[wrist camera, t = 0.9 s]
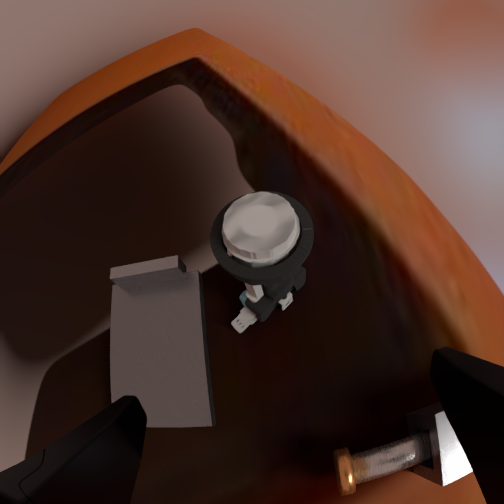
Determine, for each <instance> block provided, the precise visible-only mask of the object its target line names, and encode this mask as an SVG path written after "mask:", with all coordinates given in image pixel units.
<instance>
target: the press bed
mask: <svg viewBox="0 0 504 504" xmlns="http://www.w3.org/2000/svg"><path fill="white" fill-rule="evenodd" d="M110 280H112V281H113V282H114V283H115V284H116V285H113V288H112V303H111V327H110V378H111V401H112V403H113V402H115V401H116V400H118V399H119V398H121V397H122V396H124V395H134V396H136V397H137V398H138V399H139V401H140V403H141V405H142V407H143V409H144V411H145V412H146V415H147V425H146V427H201V426H214V425H216V417H215V409H214V401H213V392H212V383H211V374H210V364H209V354H208V343H207V331H206V319H205V306H204V292H203V277H202V275H201V274H200V272H199V271H198V270H197V271H191V272H186V266H185V264H184V263H183V262H182V260H181V259H180V257H179V256H178V255H176V256H171V257H165V258H161V259H155V260H150V261H145V262H140V263H134V264H130V265H124V266H119V267H114V268H111V273H110Z"/></svg>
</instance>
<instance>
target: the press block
mask: <svg viewBox="0 0 504 504" xmlns="http://www.w3.org/2000/svg"><path fill="white" fill-rule="evenodd" d="M405 416H406V422H407V428H408V435H409V436H412V435H415V434H417V433H420V432H422V431H425V430H427V429H429V431H430V438H431V446H432V455H433V458H431V459H428V460H426V461H424V462H421V463H419V464H416V465H413V473H415V474H417V475H419V476H421V477H423V478H425V479H428V480H430V481H432V482H434V483H436V484H439V485H441V486H445V485H447V484H449V483H451V482H453V481H455V480H457V479H459V478H461V477H463V476H465V475H467V474H469V473H470V472H472V471H473V470H472V468H471V466H470V464H469V461H468V459H467V457H466V455H465V453H464V451H463V449H462V447H461V445H460V443H459V441H458V439H457V436H456V435H455V433H454V431H453V429H452V427H451V425H450V423H449V421H448V419H447V417H446V414H445V412H444V410H443V407H442V404H441V402H440V401H438V402H436V403H434V404H431V405H429V406H426V407H423V408H421V409H418V410H415V411H413V412H410V413H407V414H405Z"/></svg>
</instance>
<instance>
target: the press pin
mask: <svg viewBox="0 0 504 504" xmlns="http://www.w3.org/2000/svg"><path fill="white" fill-rule="evenodd" d="M431 458H433V455H432V446H431V438H430V431H429V429H427V430H425V431H422V432H420V433H417V434H415V435H412V436H409V437H406V438H404V439H401V440H398V441H395V442H392V443H389V444H386V445H383V446H379V447H376V448H373V449H369V450H366V451H362V452H359V453H355V454H351V455H350V453H349V450H348V449H347V447H345V448H341V449H336V450H333V462H334V470H335V476H336V481H337V486H338V490H339V493H340V495H341V496H344V495H348V494H352V493H355V489H356V484H358V483H362V482H365V481H369V480H372V479H376V478H379V477H382V476H385V475H388V474H391V473H394V472H397V471H400V470H403V469H406V468H408V467H411V466H413V465H416V464H419V463H421V462H424V461H426V460H428V459H431Z"/></svg>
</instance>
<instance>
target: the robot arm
mask: <svg viewBox="0 0 504 504" xmlns="http://www.w3.org/2000/svg"><path fill="white" fill-rule="evenodd" d="M430 376H431V379H432V382H433V384H434V387H435V389H436V392H437V394H438V397H439V399H440V402H441V404H442V407H443V410H444V412H445V414H446V417H447V419H448V421H449V423H450V425H451V427H452V429H453V431H454V433H455V435H456V436H457V439H458V441H459V443H460V445H461V447H462V449H463V451H464V453H465V455H466V457H467V459H468V461H469V464H470V466H471V468H472V470H473V472H474V475H475V477H476V479H477V481H478V484H479V486H480V488H481V491H482V493H483V496H484V498H485V500H486V503H487V504H504V367H503V366H500V365H497V364H494V363H491V362H489V361H486V360H483V359H480V358H477V357H475V356H472V355H469V354H466V353H464V352H461V351H458V350H455V349H453V348H450V347H447V346H444V347H441V348H438V349H436V350H434V352H433V356H432V363H431V369H430ZM146 425H147V415H146V412H145V411H144V409H143V407H142V405H141V403H140V401H139V399H138V398H137V397H136V396H134V395H124V396H122V397H121V398H119V399H118V400H116V401H115V402H113V403H112V404H111V405H109V406H108V407H106V408H105V409H103V410H102V411H100V412H99V413H97V414H96V415H94V416H93V417H91V418H90V419H88V420H87V421H85V422H84V423H82V424H81V425H79V426H78V427H76V428H75V429H73V430H72V431H70V432H69V433H67V434H66V435H64V436H63V437H61V438H60V439H58V440H56V441H55V442H53V443H52V444H50V445H49V446H47V447H46V449H45V448H44V449H42V450H41V451H39V452H38V453H36V454H34V455H33V456H31V457H29V458H27V459H26V460H24V461H22V462H20V463H18V464H17V465H14V466H12V467H10V468H8V469H6V470H4V471H2V472H0V504H130V501H131V497H132V493H133V489H134V485H135V481H136V477H137V473H138V470H139V466H140V462H141V457H142V451H143V444H144V438H145V431H146Z"/></svg>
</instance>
